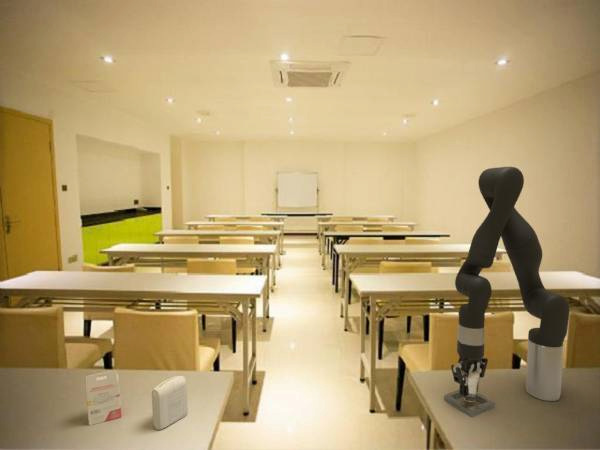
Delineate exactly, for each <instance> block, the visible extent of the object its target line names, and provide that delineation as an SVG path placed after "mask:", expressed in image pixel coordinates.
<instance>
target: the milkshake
mask: <svg viewBox="0 0 600 450" xmlns="http://www.w3.org/2000/svg"><path fill="white" fill-rule="evenodd" d="M463 373H465V372H464V371H463ZM465 374H466V375H467V373H465ZM478 378H479V374H478V373H477V372H476V371H474V372H472V374H471V377H470V378H469V379H468V384H467V385H468V396H467V397H464V396H463V399H464V401H466V402H469V403H474V402H476V399H475V398H476V391H477V384H478V385H479V383H478ZM463 380H465V377H464V376H463Z"/></svg>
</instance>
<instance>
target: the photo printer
mask: <svg viewBox="0 0 600 450" xmlns="http://www.w3.org/2000/svg"><path fill="white" fill-rule="evenodd" d="M151 401H152V402H151V403H152V404H151V407H152V424H153V428H154V429H155V430H156V431H158V430H163V429H165V428H167V427H168V426H170V425H172V424H173V423H176V422H177V421H180V419H182V418H184V417H185V416H187V415H188V413H189V412H188V411H189V409H188V387H187V380H186V377H185V376H182V375H176V376H172V377H169V378H167V379H166V380H164V381H162V382H160V383H159V384H157V385H156V386H155V387H154V388H152V390H151Z"/></svg>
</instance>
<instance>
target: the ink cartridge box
mask: <svg viewBox="0 0 600 450" xmlns="http://www.w3.org/2000/svg"><path fill="white" fill-rule="evenodd" d="M84 389H85V396H86V399H85V400H86V408H87V409H86V411H87V419H88V421H89V422H88V425H89V426H92V425H96V424H100V423H104V422H107V421H112V420H116V419H120V418H122V403H121V401H122V400H121V392H120V391H121V390H120V381H119V373H118V372H117V370H115V369H114V370H109V371H105V372H99V373H95V374H90V375H86V376H85V388H84ZM103 418H104V419H103ZM98 419H100V420H98ZM95 420H96V421H95ZM90 421H92V422H90Z"/></svg>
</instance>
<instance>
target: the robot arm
mask: <svg viewBox="0 0 600 450" xmlns="http://www.w3.org/2000/svg"><path fill="white" fill-rule="evenodd" d="M524 182H525V177H524V174H523V171H521V170H520V169H519V168H517V167H516V166H500V167H491V168H486V169H484V170H482V172H481V173H480V175H479V176H478V188H479V191H480V194H481V196H482V198H483V200H484V202H485V204H486V205H487V208H488V209H489V212H488V214H487V215H486V217H485V218H484V220H483V222H482V223H481V224H480V225H479V226H478V228H477V229H476V231H475V233H474V235H473V236H472V239H471V243H470V247H469V249H468V252H467V257H466V259H465V260H464V261H463V263H462V265H461V267H460V269H459V270H458V272H457V274H456V276H455V279H454V285H455V286H454V287H455V289H456V291H457V292H458V293H460V294H461V295H463V296H465V297H468V301H467V303H464V304H461V305H460V307H459V310H458V326H457V333H456V335H457V337H456V353H457V354H458V356H459V358H458V359H457V360H458V361H457V362H458V363H457V364H451V366H450V368H451V372H452V376H453V380H454V382H455V383H457V384H459V389H460V390H459V389H458V390H459V392H460V394H461V395H462V396H461V397H463V398H464V397H467V396H468V385H467V384H468V379H469V378H470V377H471V374H472V372H474V371H476V372H477V373H478V374H479V378H478V384H477V391H476V393H479V382H480V380H481V378H484V377H485V374H486V370H487V366H488V361H489V359H488V358H487V357H485V345H486V344H485V342H486V339H485V338H486V332H485V331H486V330H485V321H486V320H485V315H486V312H487V308H488V306H489V302H490V300H491V297H492V291H493V290H492V289H493V288H492V286H491V285H492V284H491V283H490V280H489V279H488V278H486V277H484V276H482V275H480V273H481V272H482V271H483V269H490V268H491V267H492V265H493V264H494V260H495V257H496V253H497V250H498V246H499V243H500V240H501V239H502V240H501V241H502V243H503V246H504V249H505V252H506V254H507V256H508V259H509V261H510V264H511V266H512V269H513V271H514V275H515V278H516V281H517V282H518V287H519V292H520V295H521V300H522V304H523V306H524V308H525V310H526V312H527V313H529V314H530V315H531V316H533V317H534V318H537V319H539V320H540V322H539V323H540V325H539V327H532V328H530V329H529V330H528V335H527V336H528V337H527V339H528V340H527V354H526V355H527V357H526V375H525V378H526V379H525V391H526V392H527V394H529V395H530V396H531V397H534V398H535V399H539V400H542V401H545V402H555V401H558V400H560V399H561V393H562V380H563V379H562V378H563V377H562V376H563V355H564V354H563V353H564V352H563V350H564V341H565V339H566V337H567V333H568V325H569V320H570V303H569V301H568V299H567V298H566V297H565V296H563V295H561V294H558V293H556V292H552V291H550V290H547V289H546V288H545V286H544V284H543V282H542V278H541V277H540V276H541V275H540V267H541V264H542V260H543V249H542V246H541V243H540V240H539V238H538V235H537V233H536V231H535V230H534V228H533V227H532V225H531V224H530V223H529V222H528V221H527V220H526V219H525V218H524V217H523V216H522V214H520V212H519V211H518V210H517V209H516V207H515V206H516V203H518V202H517V201H518V200H519V197H520V196H521V193H522V190H523V188H524V186H525V185H524ZM463 371H464V372H465V373H467V375H466V374H465V373H463ZM463 376H464V377H465V380H463Z"/></svg>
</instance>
